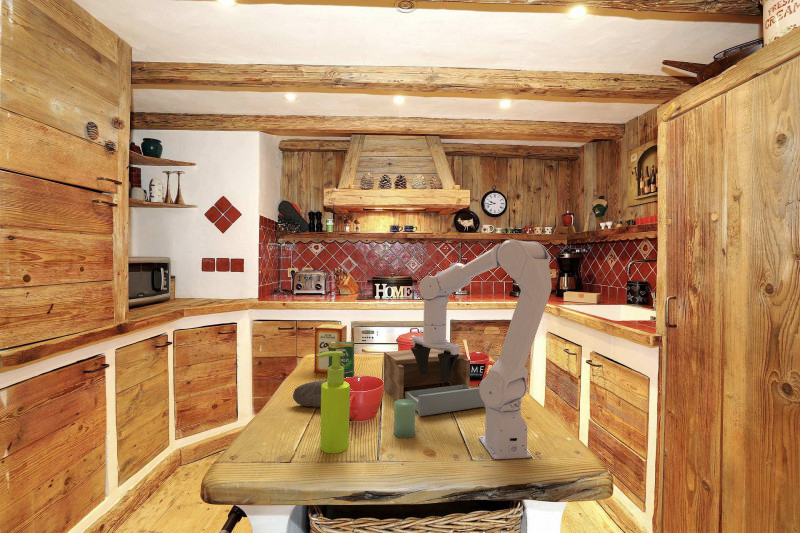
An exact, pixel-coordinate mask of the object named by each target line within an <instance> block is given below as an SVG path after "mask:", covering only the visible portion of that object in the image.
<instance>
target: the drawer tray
mask: <svg viewBox="0 0 800 533" xmlns="http://www.w3.org/2000/svg"><path fill="white" fill-rule="evenodd" d="M404 393H405V394H404V399H409V400H413V401H414V402H415V412H417V416H418V417H424V416H431V415H436V414H443V413H451V412H456V411H462V410H470V409H475V408H477V409H478V408H482V407H486V406H485V403H484V402H483V400H482V398H481V396H480V393H479V387H473V388H472V387H470V385H469V386H467V385H465V384H464V385H456V386H452V385H449V386H440V387H434V388H431V387H430V388H424V389H415V390H408V391H404Z"/></svg>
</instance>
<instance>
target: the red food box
mask: <svg viewBox="0 0 800 533" xmlns="http://www.w3.org/2000/svg"><path fill="white" fill-rule="evenodd" d="M347 329H348V328H347V325H346V324H345V325H342V324H333V323H330V324H329V323H328V324H325V323H324V324H320V325H317V326H316V327H314V365H313V366H314V369H313V371H314V372H313V373H315V374H328V367H329V356H327V357H322V358H319V357H318V356H317V355H316V354H319V353H322V352H326V351H329V343H330V342H348V341H347V338H348V336H347V335H348V334H347V333H348V331H347Z"/></svg>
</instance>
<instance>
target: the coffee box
mask: <svg viewBox="0 0 800 533" xmlns="http://www.w3.org/2000/svg"><path fill="white" fill-rule="evenodd" d="M329 351H342V352H343V353H344V356H340V365H341V366H342V367H344V378H346V377H353V376H354V377H355V341H346V342H330V343H329ZM330 366H332V356H329V367H330Z"/></svg>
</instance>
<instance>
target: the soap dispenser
mask: <svg viewBox="0 0 800 533" xmlns="http://www.w3.org/2000/svg"><path fill="white" fill-rule="evenodd" d="M316 355H317V356H318V357H319V358H322V357H327V356H332V366H330V367H328V373H327V380H328V382H325V383H323V384H322V385H321V408H320V450H321V451H322V452H324V453H326V454H340V453H342V452H345V451H347V450H348V449H349V446H350V401H351V400H350V394H351V387H350V386H351V384H349V383H348V382H346V381H344V367H342V366H341V365H340V356H344V353H343V352H342V351H326V352H322V353H319V354H316Z"/></svg>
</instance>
